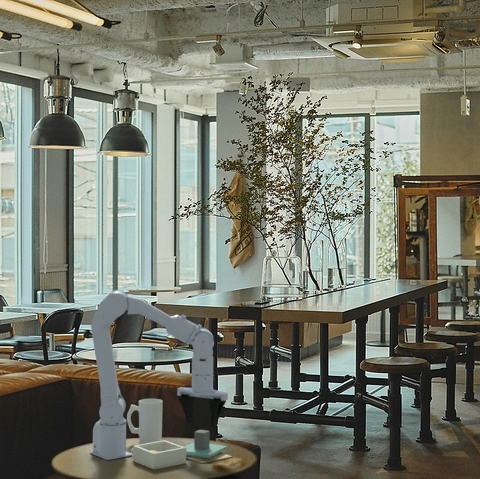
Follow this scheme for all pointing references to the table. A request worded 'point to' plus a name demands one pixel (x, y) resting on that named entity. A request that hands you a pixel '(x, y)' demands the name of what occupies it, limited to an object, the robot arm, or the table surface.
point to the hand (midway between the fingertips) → (201, 424)
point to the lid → (203, 446)
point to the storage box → (159, 454)
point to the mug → (147, 420)
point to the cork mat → (214, 458)
